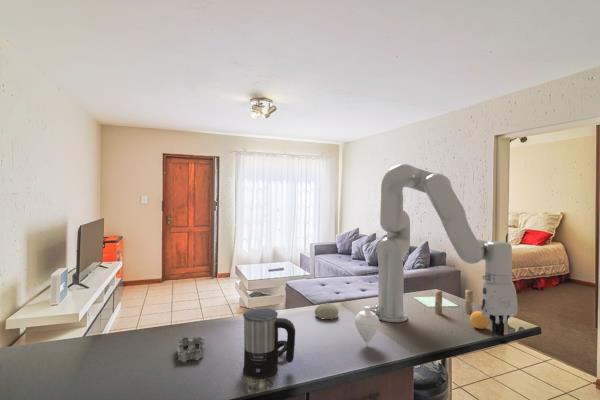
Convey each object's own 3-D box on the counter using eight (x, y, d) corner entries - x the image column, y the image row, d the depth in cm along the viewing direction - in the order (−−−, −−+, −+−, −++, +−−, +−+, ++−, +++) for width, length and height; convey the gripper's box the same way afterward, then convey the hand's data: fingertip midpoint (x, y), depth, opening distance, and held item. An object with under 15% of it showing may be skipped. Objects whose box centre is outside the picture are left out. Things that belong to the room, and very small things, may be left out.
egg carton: (179, 347, 98) (179, 334, 98) (205, 345, 100) (205, 331, 100) (175, 364, 87) (175, 349, 87) (204, 361, 89) (204, 346, 89)
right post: (467, 313, 131) (468, 291, 131) (463, 311, 133) (464, 290, 133) (473, 313, 131) (474, 291, 131) (469, 311, 133) (470, 289, 134)
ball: (476, 331, 112) (476, 314, 112) (466, 325, 118) (466, 308, 118) (492, 331, 113) (492, 314, 113) (481, 324, 119) (481, 308, 119)
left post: (437, 314, 129) (437, 292, 129) (433, 312, 132) (434, 290, 132) (443, 314, 130) (443, 292, 130) (439, 312, 132) (440, 290, 132)
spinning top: (379, 341, 103) (380, 304, 103) (379, 352, 95) (379, 312, 96) (355, 338, 105) (356, 302, 105) (353, 349, 98) (353, 309, 98)
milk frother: (243, 381, 79) (244, 321, 79) (238, 352, 94) (239, 302, 94) (299, 374, 83) (300, 316, 83) (285, 347, 98) (286, 299, 98)
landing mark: (427, 307, 139) (427, 306, 139) (413, 297, 153) (413, 297, 153) (458, 306, 140) (458, 306, 140) (441, 297, 154) (441, 296, 154)
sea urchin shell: (308, 310, 127) (321, 294, 130) (320, 322, 129) (333, 306, 132) (319, 317, 119) (333, 300, 121) (332, 330, 121) (345, 313, 124)
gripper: (484, 281, 102) (484, 339, 102) (528, 281, 103) (528, 338, 103) (470, 276, 109) (469, 330, 109) (510, 276, 111) (510, 329, 110)
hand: (498, 334), depth 106 cm, fingers closed
